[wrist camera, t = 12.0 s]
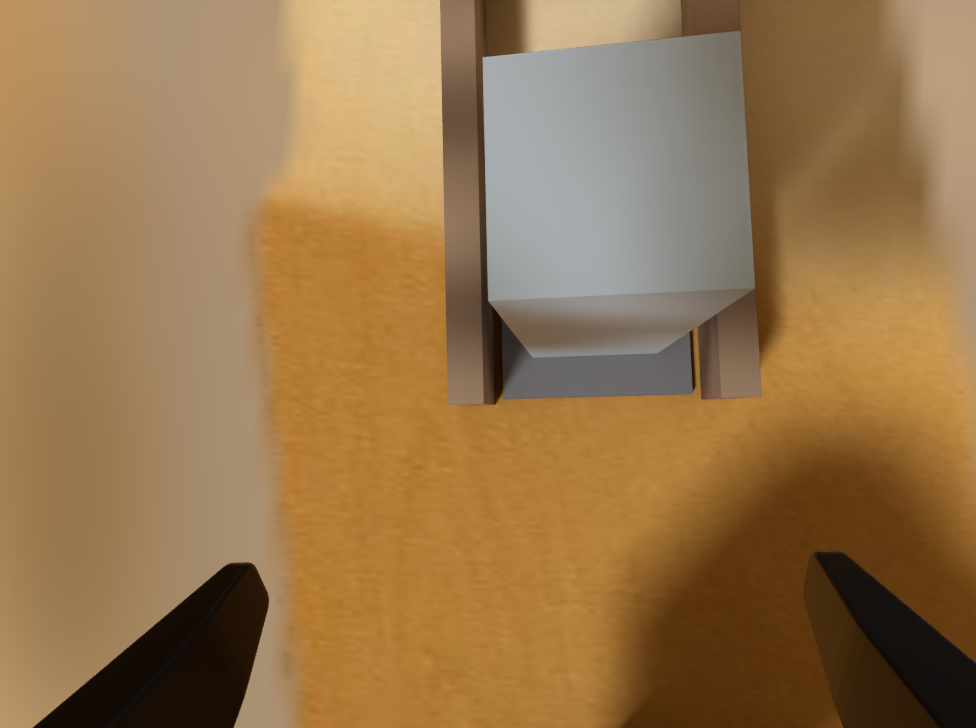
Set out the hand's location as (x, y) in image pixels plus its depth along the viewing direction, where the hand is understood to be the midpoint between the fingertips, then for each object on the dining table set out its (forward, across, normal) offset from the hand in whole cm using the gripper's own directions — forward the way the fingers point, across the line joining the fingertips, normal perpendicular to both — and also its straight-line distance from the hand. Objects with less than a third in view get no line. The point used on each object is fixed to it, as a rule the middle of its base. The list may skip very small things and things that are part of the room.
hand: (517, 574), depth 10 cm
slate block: (+14, -2, +2) cm, 14 cm away
